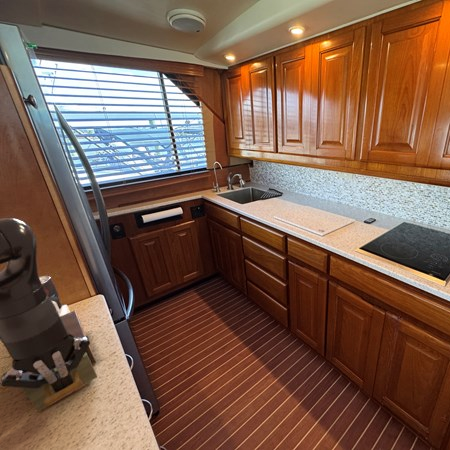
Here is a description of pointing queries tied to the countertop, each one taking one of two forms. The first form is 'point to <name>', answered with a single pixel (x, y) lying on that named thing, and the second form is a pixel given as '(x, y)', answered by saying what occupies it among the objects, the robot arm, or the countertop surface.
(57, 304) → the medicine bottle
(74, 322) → the cabinet
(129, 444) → the countertop surface
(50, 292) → the silver metal tumbler
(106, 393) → the countertop surface
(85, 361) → the drawer
